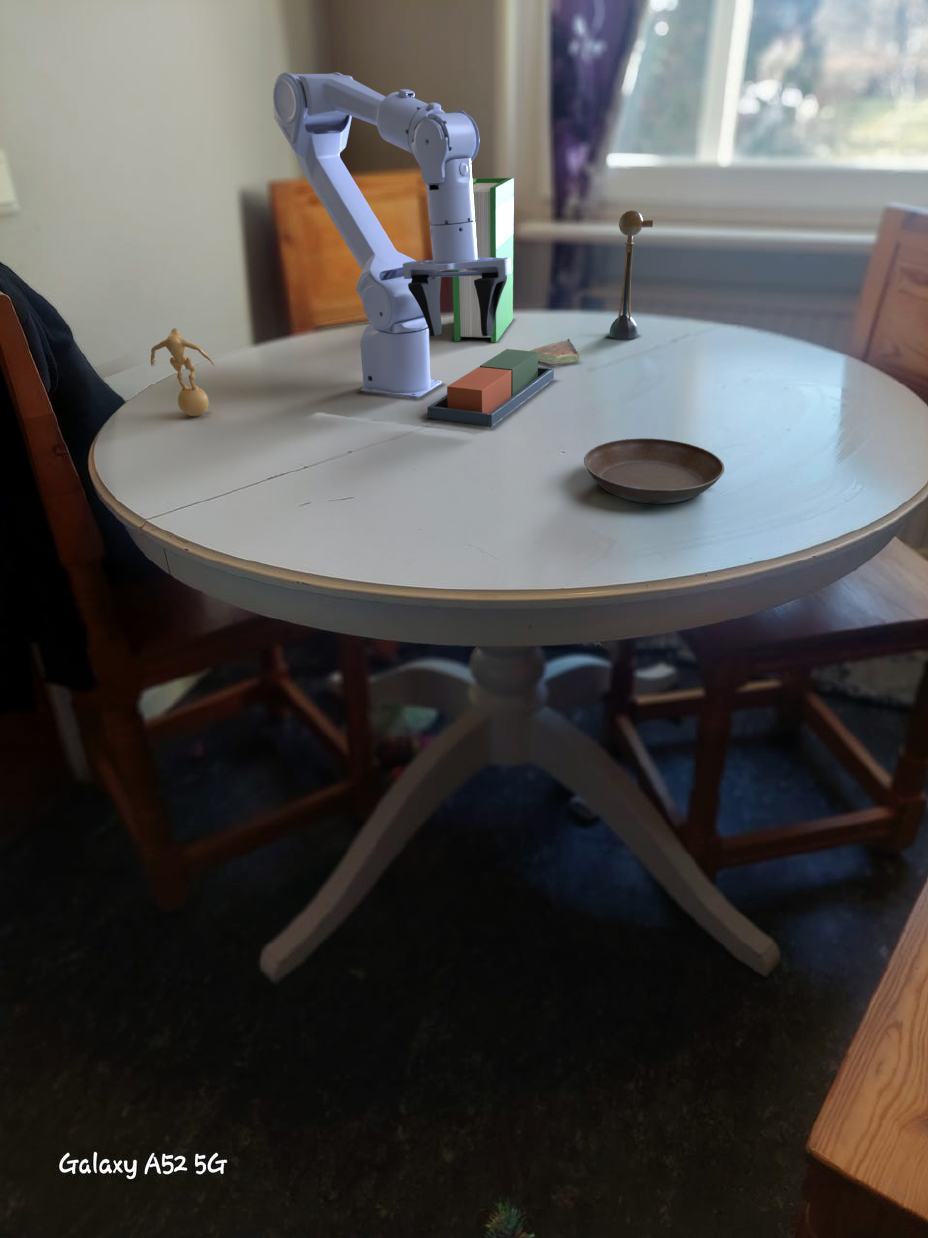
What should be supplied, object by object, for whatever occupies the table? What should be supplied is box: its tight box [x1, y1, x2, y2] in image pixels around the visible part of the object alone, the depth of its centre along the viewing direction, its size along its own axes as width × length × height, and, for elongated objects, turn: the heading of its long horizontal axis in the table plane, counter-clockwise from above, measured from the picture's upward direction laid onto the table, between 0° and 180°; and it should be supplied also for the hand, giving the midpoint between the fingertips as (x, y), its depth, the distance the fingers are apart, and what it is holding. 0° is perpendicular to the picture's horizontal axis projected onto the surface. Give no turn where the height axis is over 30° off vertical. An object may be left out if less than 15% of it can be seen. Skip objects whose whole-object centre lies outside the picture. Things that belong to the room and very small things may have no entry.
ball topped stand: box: [608, 209, 654, 340], centre depth 147 cm, size 6×5×20 cm
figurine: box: [150, 328, 215, 417], centre depth 115 cm, size 8×6×12 cm
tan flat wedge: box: [529, 338, 580, 365], centre depth 140 cm, size 11×8×2 cm
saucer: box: [583, 437, 726, 505], centre depth 94 cm, size 15×15×3 cm
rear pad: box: [478, 348, 539, 397], centre depth 125 cm, size 5×10×4 cm, turn 155°
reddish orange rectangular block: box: [446, 366, 511, 413], centre depth 117 cm, size 5×10×4 cm, turn 155°
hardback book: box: [451, 177, 515, 343], centre depth 152 cm, size 18×7×24 cm, turn 168°
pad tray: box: [426, 366, 555, 428], centre depth 122 cm, size 9×23×2 cm, turn 155°
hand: (461, 334), depth 116 cm, fingers open, 7 cm apart
